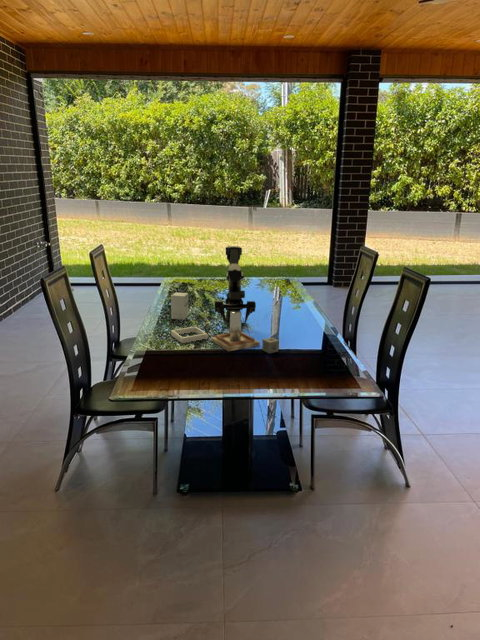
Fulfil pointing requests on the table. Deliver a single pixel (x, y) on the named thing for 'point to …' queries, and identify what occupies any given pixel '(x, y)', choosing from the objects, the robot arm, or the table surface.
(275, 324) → the table surface
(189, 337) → the frame
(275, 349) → the dice cube
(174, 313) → the supplement box
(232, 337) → the disc
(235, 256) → the robot arm
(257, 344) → the tray
